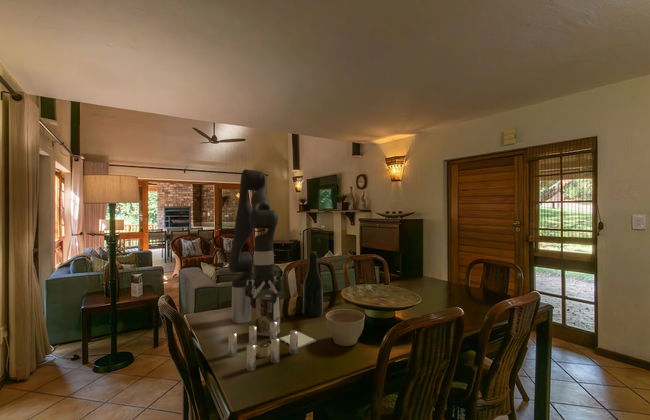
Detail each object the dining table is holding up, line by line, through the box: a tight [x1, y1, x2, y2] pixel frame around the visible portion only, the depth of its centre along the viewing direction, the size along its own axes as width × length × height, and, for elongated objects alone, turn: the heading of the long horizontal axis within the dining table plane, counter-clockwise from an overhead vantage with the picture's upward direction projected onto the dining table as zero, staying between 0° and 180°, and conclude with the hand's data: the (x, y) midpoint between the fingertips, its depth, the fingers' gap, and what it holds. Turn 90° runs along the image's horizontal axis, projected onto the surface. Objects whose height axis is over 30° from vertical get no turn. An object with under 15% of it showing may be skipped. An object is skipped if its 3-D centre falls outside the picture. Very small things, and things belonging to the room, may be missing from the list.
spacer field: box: [228, 321, 299, 372], centre depth 116 cm, size 19×21×8 cm
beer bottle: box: [302, 251, 324, 318], centre depth 161 cm, size 10×10×33 cm
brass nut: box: [256, 341, 271, 358], centre depth 116 cm, size 6×5×4 cm
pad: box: [279, 331, 317, 349], centre depth 128 cm, size 12×10×1 cm
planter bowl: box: [325, 308, 366, 347], centre depth 127 cm, size 16×16×11 cm
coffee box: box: [255, 294, 281, 337], centre depth 136 cm, size 9×6×16 cm
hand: (263, 305), depth 116 cm, fingers open, 8 cm apart
